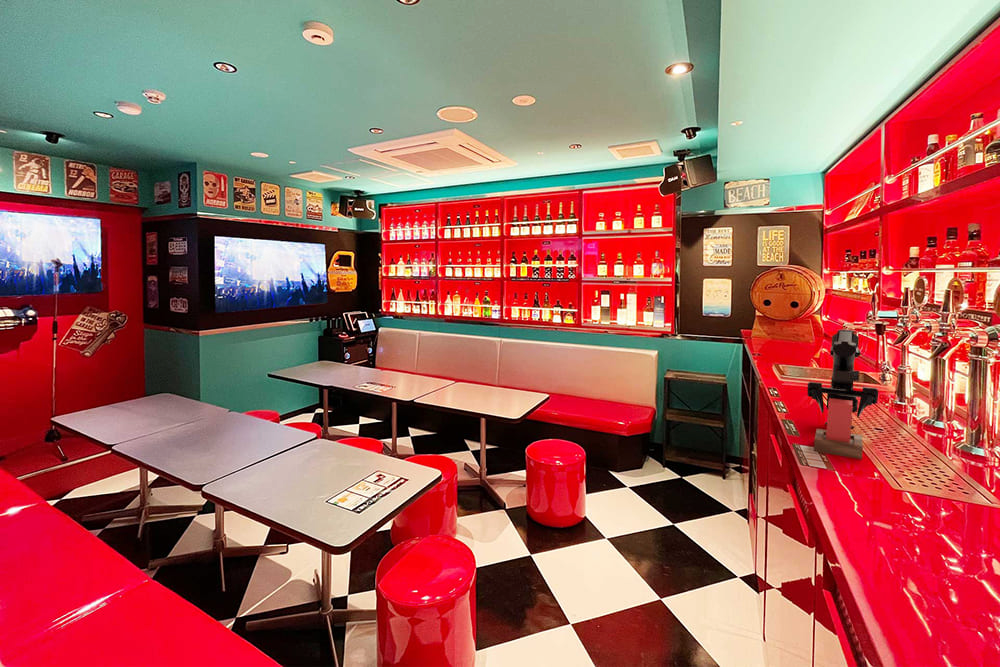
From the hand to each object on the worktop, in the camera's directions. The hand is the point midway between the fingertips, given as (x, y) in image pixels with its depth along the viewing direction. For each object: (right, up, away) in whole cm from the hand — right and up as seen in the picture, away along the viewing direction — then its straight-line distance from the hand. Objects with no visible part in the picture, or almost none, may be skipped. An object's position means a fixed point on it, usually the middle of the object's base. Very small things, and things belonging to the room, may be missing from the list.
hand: (839, 414), depth 151 cm
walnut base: (-2, -11, -2) cm, 11 cm away
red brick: (-2, -8, -2) cm, 8 cm away
